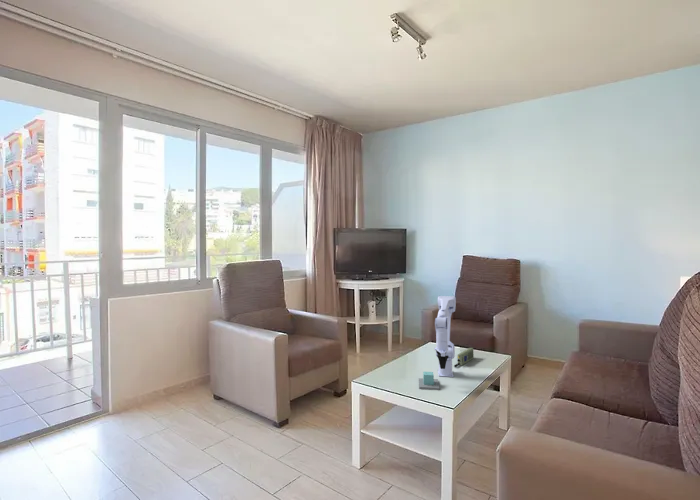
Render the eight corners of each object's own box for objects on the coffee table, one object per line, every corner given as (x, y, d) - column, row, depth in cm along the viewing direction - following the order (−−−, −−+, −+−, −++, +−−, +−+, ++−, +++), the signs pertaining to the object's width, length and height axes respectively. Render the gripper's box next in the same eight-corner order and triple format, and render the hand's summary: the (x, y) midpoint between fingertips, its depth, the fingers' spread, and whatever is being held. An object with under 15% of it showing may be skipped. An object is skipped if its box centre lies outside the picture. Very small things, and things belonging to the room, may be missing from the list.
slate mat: (418, 380, 201) (418, 378, 201) (437, 381, 199) (437, 379, 199) (419, 388, 189) (419, 386, 189) (439, 389, 187) (439, 387, 187)
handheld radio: (474, 358, 238) (458, 368, 218) (469, 357, 240) (452, 367, 221) (474, 348, 238) (457, 357, 218) (469, 347, 240) (452, 356, 221)
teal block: (423, 380, 197) (423, 371, 197) (433, 381, 196) (432, 371, 196) (423, 384, 192) (423, 374, 192) (433, 385, 191) (433, 375, 191)
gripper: (433, 336, 202) (433, 361, 202) (434, 343, 188) (435, 370, 188) (446, 336, 201) (446, 362, 201) (449, 344, 187) (449, 371, 187)
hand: (442, 366), depth 194 cm, fingers open, 7 cm apart
